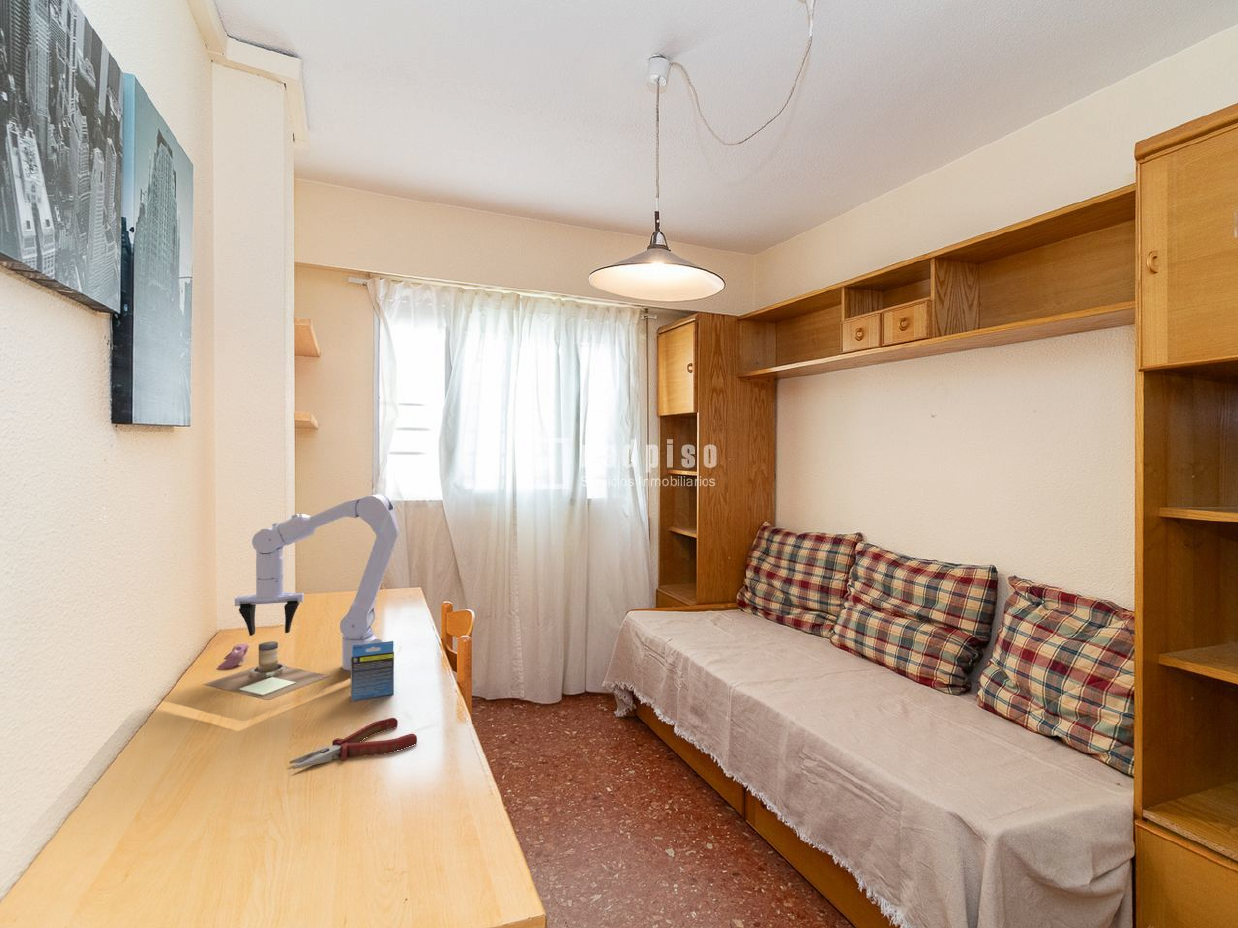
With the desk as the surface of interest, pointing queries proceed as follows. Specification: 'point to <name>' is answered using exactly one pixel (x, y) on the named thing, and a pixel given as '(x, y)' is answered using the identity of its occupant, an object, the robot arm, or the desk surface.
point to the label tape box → (372, 670)
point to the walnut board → (245, 678)
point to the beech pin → (268, 656)
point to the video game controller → (234, 656)
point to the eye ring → (257, 674)
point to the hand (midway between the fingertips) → (270, 633)
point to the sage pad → (267, 686)
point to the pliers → (358, 745)
